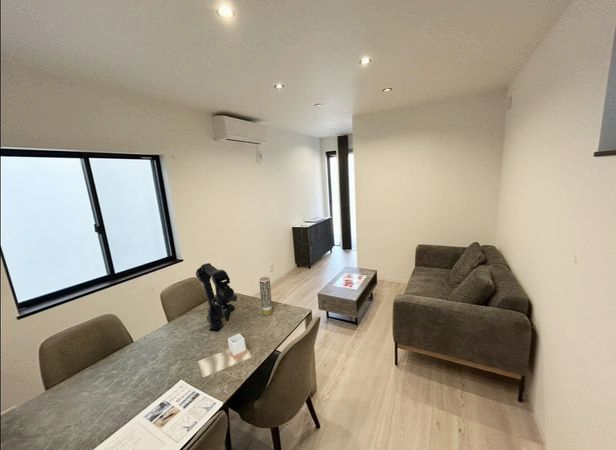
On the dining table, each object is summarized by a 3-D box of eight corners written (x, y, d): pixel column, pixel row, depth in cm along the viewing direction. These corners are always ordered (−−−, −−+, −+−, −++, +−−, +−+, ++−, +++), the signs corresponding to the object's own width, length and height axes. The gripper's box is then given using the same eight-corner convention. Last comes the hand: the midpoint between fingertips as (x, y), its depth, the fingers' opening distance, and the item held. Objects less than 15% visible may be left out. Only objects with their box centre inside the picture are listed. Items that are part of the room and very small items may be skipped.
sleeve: (234, 360, 128) (232, 344, 127) (229, 353, 133) (227, 338, 132) (246, 354, 132) (244, 338, 131) (241, 348, 137) (239, 333, 136)
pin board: (202, 379, 118) (201, 371, 118) (198, 362, 129) (197, 355, 128) (252, 358, 130) (251, 351, 130) (244, 345, 141) (243, 338, 141)
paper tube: (270, 316, 170) (267, 281, 165) (260, 315, 171) (257, 280, 166) (273, 311, 176) (271, 277, 172) (264, 310, 178) (261, 276, 173)
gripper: (242, 293, 141) (244, 318, 144) (227, 283, 155) (230, 307, 158) (223, 300, 134) (226, 326, 137) (209, 289, 148) (212, 314, 151)
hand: (224, 318), depth 146 cm, fingers open, 9 cm apart
